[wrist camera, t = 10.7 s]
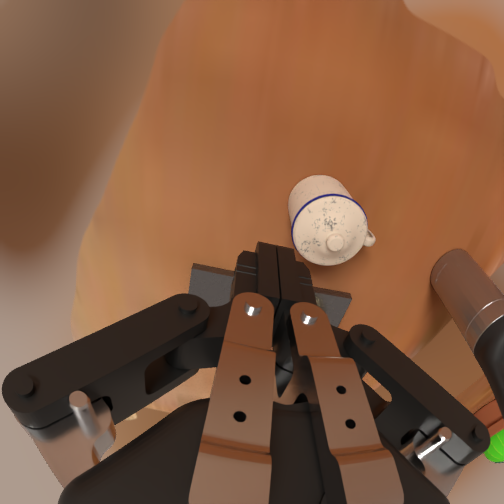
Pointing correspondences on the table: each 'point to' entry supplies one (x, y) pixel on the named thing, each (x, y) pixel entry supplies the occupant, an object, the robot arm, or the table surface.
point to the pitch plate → (219, 286)
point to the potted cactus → (493, 430)
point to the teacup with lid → (326, 221)
